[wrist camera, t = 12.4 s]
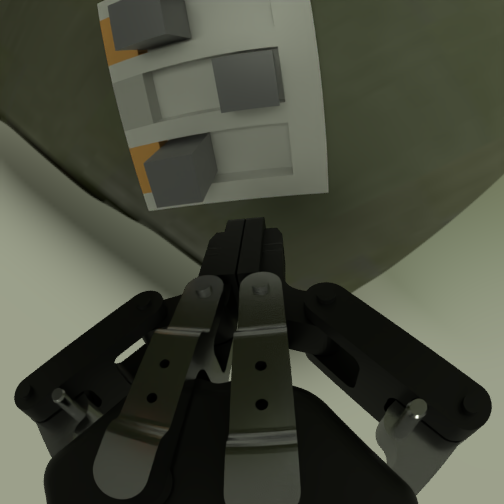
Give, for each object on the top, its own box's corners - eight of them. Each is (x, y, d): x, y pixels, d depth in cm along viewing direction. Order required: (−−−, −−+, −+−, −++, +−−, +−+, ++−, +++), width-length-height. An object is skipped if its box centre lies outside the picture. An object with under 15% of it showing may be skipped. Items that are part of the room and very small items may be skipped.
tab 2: (179, 176, 26) (157, 207, 21) (170, 139, 24) (143, 163, 19) (217, 170, 26) (202, 201, 21) (209, 132, 24) (191, 154, 19)
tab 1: (150, 49, 19) (115, 50, 15) (143, 13, 17) (107, 6, 12) (191, 38, 19) (165, 33, 14) (184, 0, 17) (157, -14, 12)
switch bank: (159, 196, 29) (148, 211, 27) (114, 6, 17) (97, 3, 15) (323, 178, 27) (328, 192, 24) (298, -35, 15) (300, -46, 13)
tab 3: (234, 100, 22) (221, 113, 17) (226, 58, 20) (211, 58, 15) (279, 94, 21) (279, 105, 17) (273, 52, 19) (271, 49, 14)
